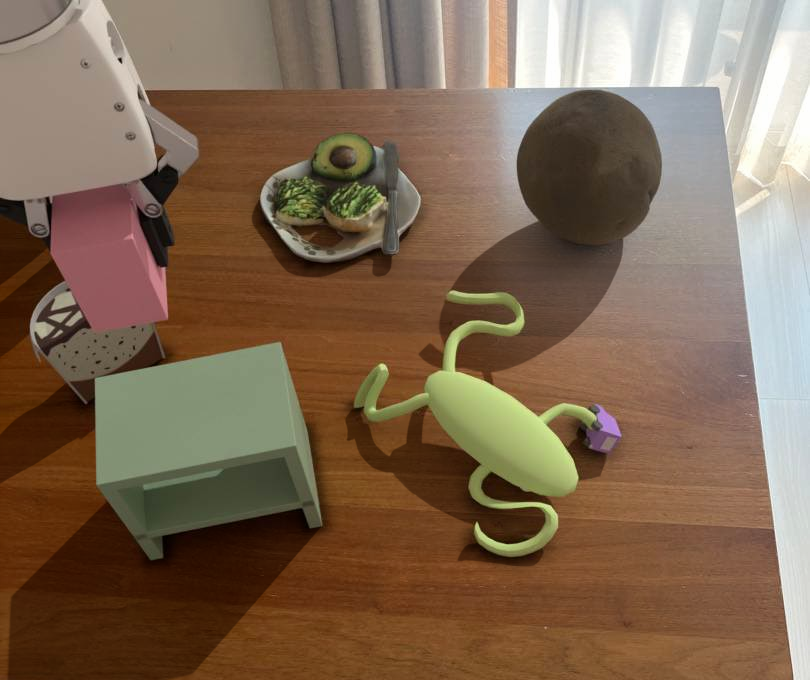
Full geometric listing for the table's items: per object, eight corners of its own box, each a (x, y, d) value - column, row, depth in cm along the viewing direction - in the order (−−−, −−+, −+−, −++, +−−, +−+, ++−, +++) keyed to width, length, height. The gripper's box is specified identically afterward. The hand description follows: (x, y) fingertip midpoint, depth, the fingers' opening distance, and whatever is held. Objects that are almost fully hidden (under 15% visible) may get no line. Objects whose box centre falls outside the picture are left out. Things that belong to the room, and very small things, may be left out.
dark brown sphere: (609, 171, 101) (627, 44, 88) (672, 252, 94) (702, 127, 81) (495, 211, 99) (497, 87, 86) (551, 295, 92) (562, 175, 79)
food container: (150, 318, 95) (117, 247, 87) (178, 352, 93) (146, 282, 84) (48, 377, 93) (3, 309, 84) (74, 413, 90) (29, 347, 81)
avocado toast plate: (461, 238, 98) (460, 204, 94) (314, 300, 95) (306, 268, 91) (384, 140, 106) (380, 105, 102) (248, 194, 104) (238, 161, 100)
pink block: (94, 333, 59) (49, 253, 53) (94, 239, 63) (53, 155, 57) (168, 320, 59) (132, 238, 53) (163, 227, 63) (129, 142, 57)
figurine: (482, 302, 93) (482, 261, 88) (662, 468, 81) (673, 432, 76) (337, 390, 89) (328, 353, 84) (504, 579, 77) (506, 549, 72)
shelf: (151, 561, 81) (95, 485, 69) (146, 464, 86) (94, 377, 75) (323, 527, 81) (296, 445, 70) (307, 432, 87) (280, 341, 75)
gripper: (159, -85, 46) (241, 200, 62) (-169, -30, 45) (-1, 243, 61) (165, -4, 42) (250, 277, 58) (-191, 58, 42) (-7, 324, 58)
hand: (120, 258), depth 60 cm, fingers closed on pink block, 5 cm apart
